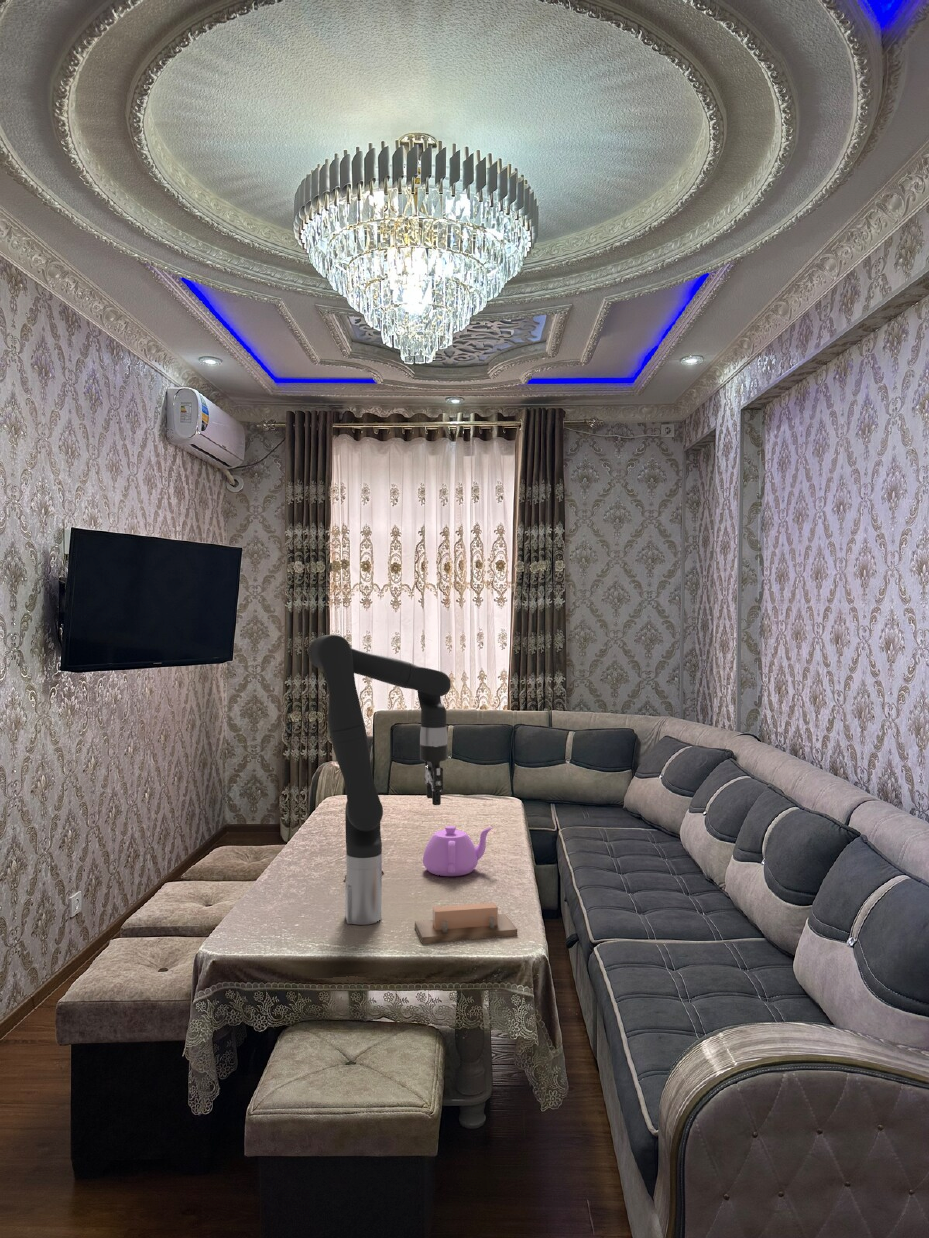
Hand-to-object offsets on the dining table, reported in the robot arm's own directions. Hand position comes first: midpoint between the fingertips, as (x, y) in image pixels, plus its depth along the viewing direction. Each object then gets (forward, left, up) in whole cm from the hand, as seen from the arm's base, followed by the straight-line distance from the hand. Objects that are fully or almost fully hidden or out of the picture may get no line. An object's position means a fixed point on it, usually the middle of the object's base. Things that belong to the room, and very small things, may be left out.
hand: (433, 801), depth 233 cm
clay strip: (+4, -22, -27) cm, 35 cm away
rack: (+4, -22, -28) cm, 36 cm away
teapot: (+13, +27, -28) cm, 41 cm away
